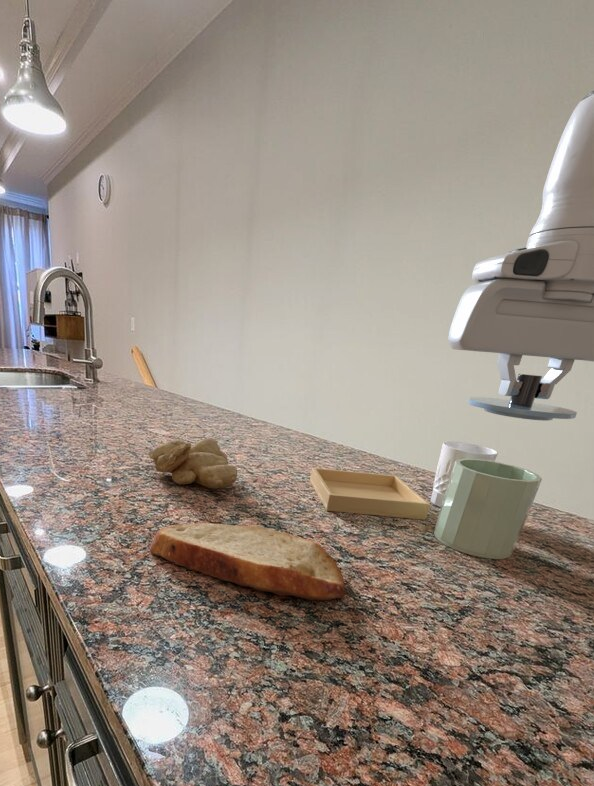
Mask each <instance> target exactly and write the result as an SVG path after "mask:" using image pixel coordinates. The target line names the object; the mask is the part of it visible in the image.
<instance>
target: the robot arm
mask: <svg viewBox="0 0 594 786" xmlns="http://www.w3.org/2000/svg"><path fill="white" fill-rule="evenodd" d="M471 279H472V281H473V282H475V283H473V284H471V285H470V286H469V287H468V288H466V290H465V291H464V292H463V294H462V295H461V297H460V299H459V302H458V305H457V307H456V309H455V312H454V315H453V318H452V320H451V321H452V322H451V325H450V328H449V332H448V336H447V341H448V344H449V346H450V348H451V349H452V350H456V351H467V352H480V353H481V352H482V353H494V354H499V356H498V359H497V361H496V362H497V363H496V366H497V370H498V373H499V376H500V379H501V381H500V385H499V387H498V395H500V396H504V397H505V396H506V397H511V396H518V394H519V392H520V391H519V389H520V388H521V386H522V383H523V382H521V381H516V380H517V376H516V371H515V366H520V365H521V361H522V358H523V356H529V357H537V358H538V357H539V358H540V357H541V358H549V361H548V363H547V367H546V368H549V371H548V372H547V373H546V374H545V375H544V376H543V377H542V379H541V382H540V385H539V388H538V390H537V393H536V396H535V399H540V400H548V399H549V400H550V398H551V396H552V394H553V391H554V388H555V385H557V384H559V382H560V381H561V380H562V379H563V378H564V377H565V376H567V374H569V373H570V372H571V371H572V368H573V365H574V362H575V361H584V362H594V90H592V91H590V92H589V93H588V94H587V95H585V96H584V98H582V99H581V100H580V101H579V102H578V103H577V105H576V106H575V108H574V109H573V112H572V113H571V115H570V117H569V118H568V120H567V123H566V125H565V127H564V130H563V132H562V134H561V136H560V139H559V141H558V144H557V147H556V150H555V152H554V155H553V158H552V161H551V164H550V166H549V170H548V173H547V176H546V179H545V182H544V185H543V190H542V203H541V210H540V212H539V215H538V217H537V219H536V222H535V223H534V225H533V227H532V229H531V231H530V233H529V235H528V238H527V242H526V245H525V247H522V248H516V249H514V250H510V251H508V253H503V254H499V255H495V256H492V257H488V258H485V259H483V260H480V261H478V262H476V264H475V265H474V267H473V270H472V274H471Z"/></svg>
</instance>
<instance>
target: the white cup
mask: <svg viewBox="0 0 594 786" xmlns="http://www.w3.org/2000/svg"><path fill="white" fill-rule="evenodd" d="M498 454H499V452H498V451H497V450H495V449H493V448H490V447H487V446H483V445H479V444H475V443H469V442H463V441H444V442H442V445H441V450H440V454H439V458H438V462H437V466H436V472H435V475H434V480H433V484H432V486H433V487H432V492H431V496H430V502H431V503H432V504H433V505H435V506H436V507H438V508H441V506H442V502H443V499H444V496H445V493H446V490H447V486H448V483H449V480H450V477H451V473H452V470H453V467H454V464H455V461H456V460H459V459H480V460H488V461H494V462H496V459H497V457H498Z"/></svg>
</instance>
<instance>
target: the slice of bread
mask: <svg viewBox="0 0 594 786" xmlns="http://www.w3.org/2000/svg"><path fill="white" fill-rule="evenodd" d="M149 552H150V553H152V554H153V555H155V556H158V557H162V558H163V559H165V560H166V561H169V562H172V563H173V564H174V565H175V566H176V565H177V566H181V567H184V568H186V569H188V570H189V571H195V572H199V573H201V574H203V575H205V576H210V577H214V578H216V579H218V580H221V581H224V582H229V583H234V584H236V585H238V586H240V587H247V588H248V587H249V588H252V589H253V590H256V591H258V592H269V593H272V594H275V595H276V596H280V597H285V596H286V597H287V596H293V597H296V598H298V599H299V598H300V599H304V600H308V601H331V600H335V599H344V598H345V597H346V595H347V590H346V584H345V581H344V577H343V574H342V571H341V570H340V567H339V566H338V564H337V563H336V561H335V560H334V558H333V557H332V556H331V555H330V554H329V553H328V552H327V550H326V549H325V548H323V546H321V545H320V544H319V543H318V542H315V541H313V540H309V539H306V538H303V537H299V536H296V535H294V534H291V533H289V532H286V531H279V530H276V529H266V528H264V527H261V526H260V527H259V526H254V525H233V524H222V523H211V522H210V523H208V522H200V523H199V522H197V523H181V524H180V523H179V524H172V525H168V526H165V527H163V528H161V529H159V530H158V531H157V532H156V533H155V535H154V536H153V538H152V540H151V542H150V545H149Z"/></svg>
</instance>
